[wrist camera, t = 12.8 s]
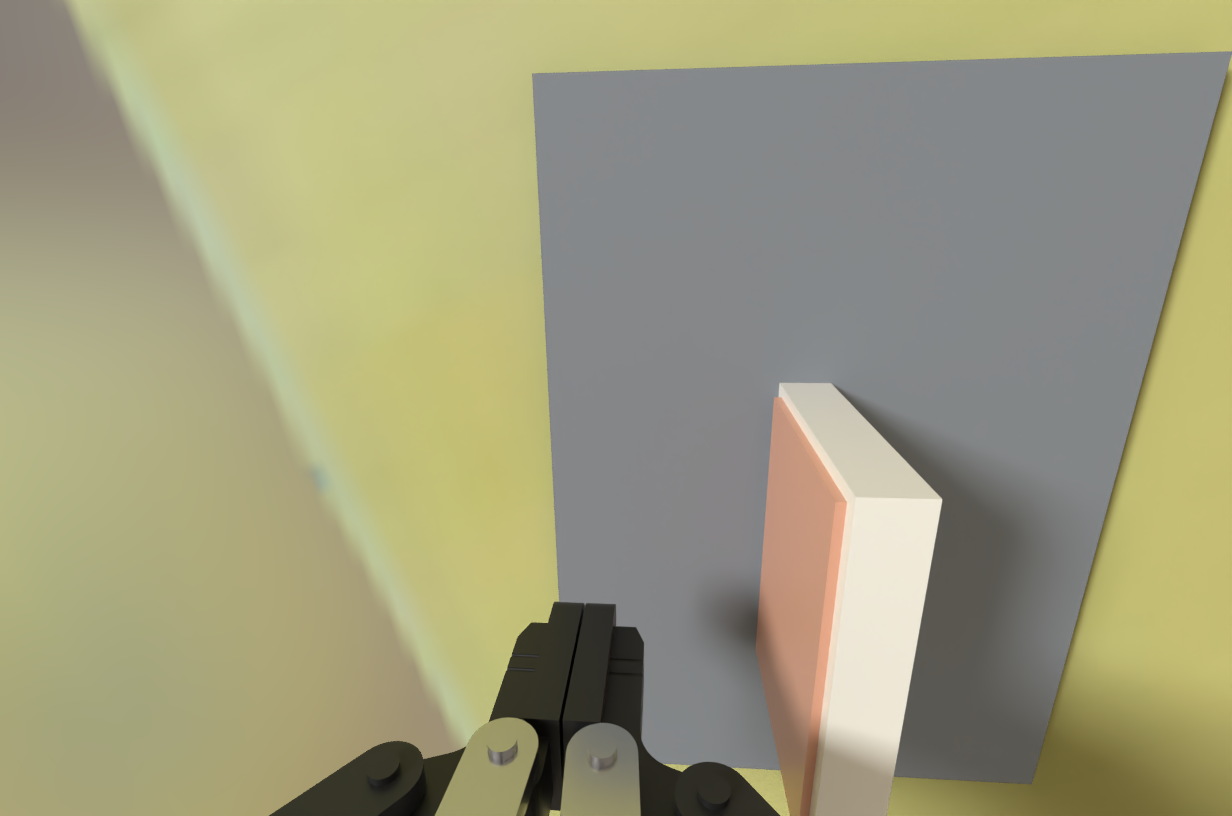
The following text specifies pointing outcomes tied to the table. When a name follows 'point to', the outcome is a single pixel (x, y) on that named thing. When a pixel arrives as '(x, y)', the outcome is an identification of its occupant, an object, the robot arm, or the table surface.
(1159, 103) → the mat
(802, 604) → the card deck
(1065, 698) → the table surface
